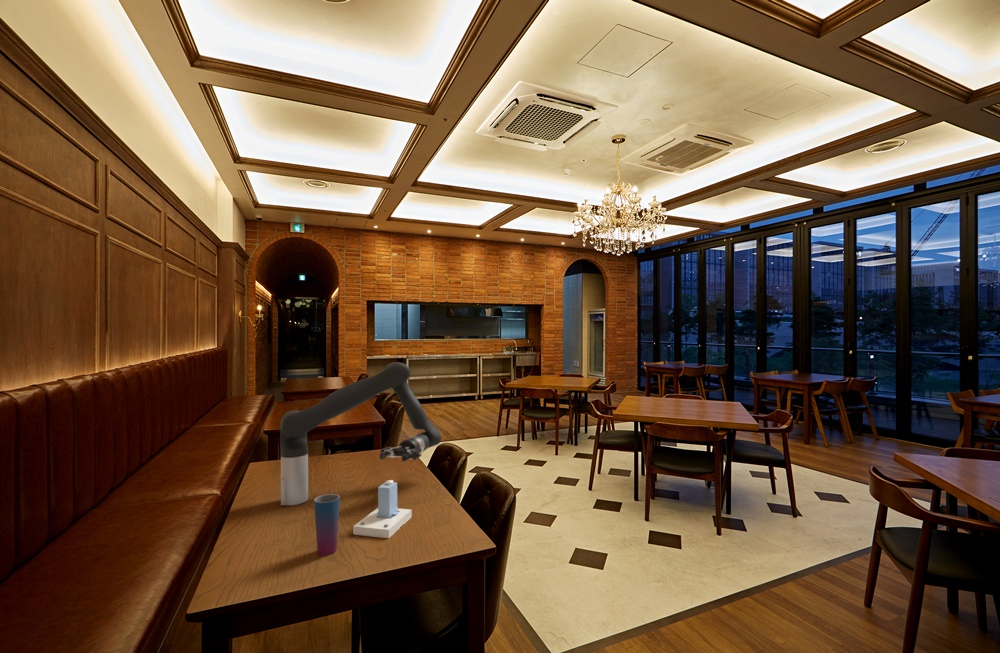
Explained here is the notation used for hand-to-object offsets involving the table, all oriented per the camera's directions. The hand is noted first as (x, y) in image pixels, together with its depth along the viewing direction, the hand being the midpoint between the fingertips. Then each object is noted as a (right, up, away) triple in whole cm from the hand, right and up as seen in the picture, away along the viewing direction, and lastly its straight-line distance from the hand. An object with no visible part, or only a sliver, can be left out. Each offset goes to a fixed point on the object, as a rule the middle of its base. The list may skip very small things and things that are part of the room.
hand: (392, 457), depth 159 cm
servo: (+2, -18, -12) cm, 21 cm away
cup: (-11, -17, -32) cm, 38 cm away
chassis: (+1, -17, -15) cm, 23 cm away
